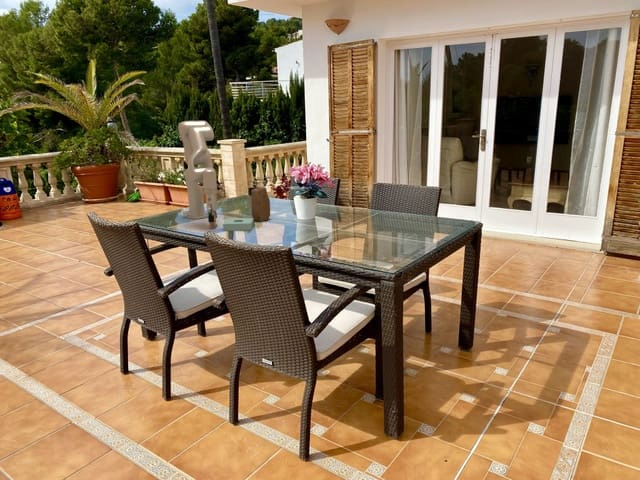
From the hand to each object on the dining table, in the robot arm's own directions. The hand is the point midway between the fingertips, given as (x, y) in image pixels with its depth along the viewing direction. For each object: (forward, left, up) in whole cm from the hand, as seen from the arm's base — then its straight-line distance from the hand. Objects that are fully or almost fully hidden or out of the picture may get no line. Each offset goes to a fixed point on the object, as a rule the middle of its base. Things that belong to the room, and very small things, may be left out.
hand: (212, 220), depth 286 cm
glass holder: (+23, +47, -5) cm, 53 cm away
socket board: (+15, -1, -5) cm, 16 cm away
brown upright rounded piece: (+27, +17, -5) cm, 32 cm away
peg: (0, 0, -5) cm, 5 cm away
